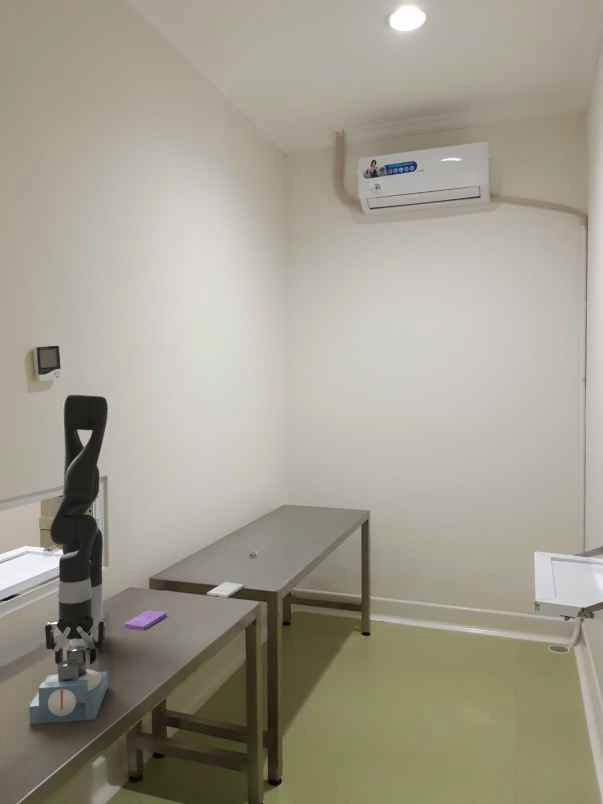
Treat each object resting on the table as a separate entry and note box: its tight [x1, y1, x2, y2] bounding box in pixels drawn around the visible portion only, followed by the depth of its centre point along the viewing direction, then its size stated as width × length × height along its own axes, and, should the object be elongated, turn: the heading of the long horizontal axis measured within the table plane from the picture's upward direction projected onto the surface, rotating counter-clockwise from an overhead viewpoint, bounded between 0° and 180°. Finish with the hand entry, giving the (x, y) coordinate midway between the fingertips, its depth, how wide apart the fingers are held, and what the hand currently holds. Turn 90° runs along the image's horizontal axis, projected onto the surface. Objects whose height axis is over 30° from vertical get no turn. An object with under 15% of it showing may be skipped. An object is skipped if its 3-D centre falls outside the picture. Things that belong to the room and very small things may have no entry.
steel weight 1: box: [66, 646, 87, 677], centre depth 152 cm, size 4×4×6 cm
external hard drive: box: [206, 581, 245, 599], centre depth 226 cm, size 2×8×12 cm
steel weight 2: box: [57, 659, 78, 682], centre depth 144 cm, size 4×4×6 cm
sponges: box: [124, 609, 167, 631], centre depth 198 cm, size 7×13×2 cm, turn 159°
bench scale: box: [29, 668, 108, 725], centre depth 146 cm, size 16×14×8 cm
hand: (76, 663), depth 152 cm, fingers open, 7 cm apart
